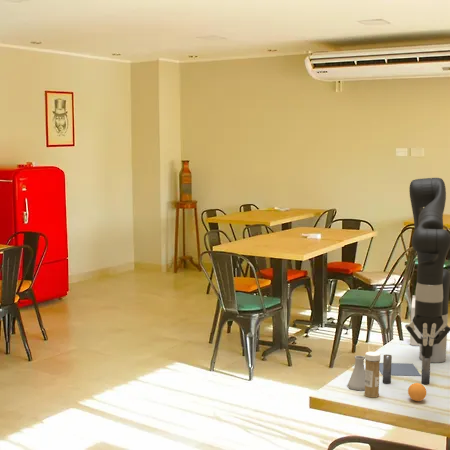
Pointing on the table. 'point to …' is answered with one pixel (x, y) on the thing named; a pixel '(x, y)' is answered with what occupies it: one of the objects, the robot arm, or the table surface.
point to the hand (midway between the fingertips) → (426, 357)
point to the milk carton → (412, 340)
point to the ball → (417, 392)
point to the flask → (358, 375)
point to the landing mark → (401, 369)
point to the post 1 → (387, 369)
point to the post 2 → (425, 371)
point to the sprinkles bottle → (372, 374)
